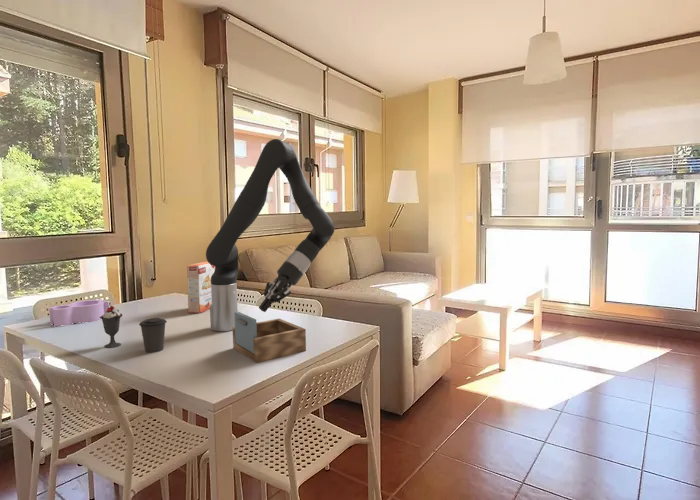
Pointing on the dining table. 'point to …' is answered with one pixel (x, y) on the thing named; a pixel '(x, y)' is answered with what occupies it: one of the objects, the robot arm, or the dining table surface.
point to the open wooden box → (274, 340)
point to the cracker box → (199, 286)
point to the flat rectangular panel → (245, 331)
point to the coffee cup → (153, 334)
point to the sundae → (111, 325)
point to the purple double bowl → (78, 312)
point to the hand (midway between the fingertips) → (261, 310)
